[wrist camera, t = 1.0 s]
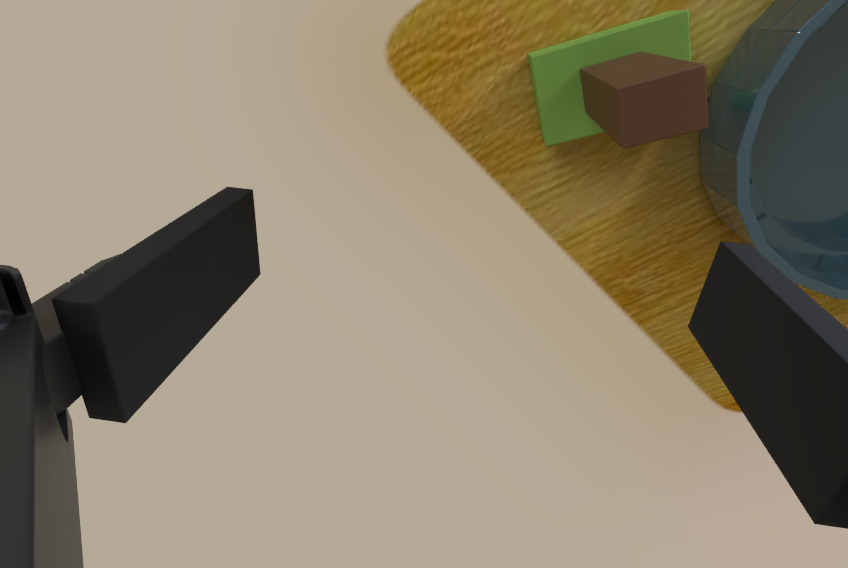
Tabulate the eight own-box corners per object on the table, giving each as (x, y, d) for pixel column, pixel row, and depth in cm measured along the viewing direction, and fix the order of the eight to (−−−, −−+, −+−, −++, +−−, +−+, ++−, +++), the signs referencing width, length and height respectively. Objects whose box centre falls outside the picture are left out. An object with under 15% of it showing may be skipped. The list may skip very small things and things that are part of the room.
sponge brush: (541, 136, 32) (567, 193, 21) (526, 53, 30) (546, 71, 19) (676, 101, 30) (777, 145, 19) (670, 10, 28) (779, 3, 17)
